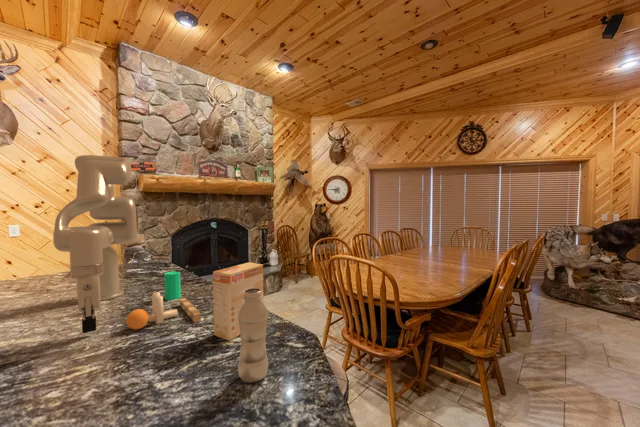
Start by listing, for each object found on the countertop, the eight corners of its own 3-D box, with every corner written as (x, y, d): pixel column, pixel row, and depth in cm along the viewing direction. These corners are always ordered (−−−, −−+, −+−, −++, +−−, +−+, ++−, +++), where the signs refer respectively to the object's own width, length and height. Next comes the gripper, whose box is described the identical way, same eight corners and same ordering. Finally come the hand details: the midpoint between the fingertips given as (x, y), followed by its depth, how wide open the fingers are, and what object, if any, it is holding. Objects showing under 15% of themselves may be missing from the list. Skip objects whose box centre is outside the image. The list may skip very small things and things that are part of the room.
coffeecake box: (249, 317, 97) (248, 261, 96) (264, 322, 93) (264, 264, 93) (212, 335, 84) (211, 270, 83) (229, 341, 81) (228, 274, 80)
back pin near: (154, 322, 94) (153, 297, 93) (162, 320, 95) (162, 295, 95) (155, 324, 92) (155, 298, 91) (164, 322, 93) (163, 297, 93)
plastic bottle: (241, 370, 66) (239, 286, 66) (270, 368, 67) (269, 285, 66) (235, 388, 60) (233, 295, 59) (267, 386, 61) (266, 294, 60)
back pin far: (152, 317, 98) (151, 293, 97) (160, 315, 99) (159, 291, 99) (153, 319, 96) (152, 295, 95) (161, 317, 97) (160, 293, 97)
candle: (174, 300, 115) (173, 271, 114) (161, 299, 116) (160, 270, 115) (183, 295, 121) (183, 267, 120) (171, 294, 122) (171, 267, 121)
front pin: (148, 314, 95) (176, 308, 100) (148, 320, 95) (176, 314, 100) (149, 316, 93) (177, 310, 98) (149, 323, 93) (177, 317, 98)
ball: (148, 316, 94) (126, 319, 91) (149, 304, 91) (127, 306, 88) (148, 331, 90) (125, 335, 86) (149, 318, 87) (126, 321, 84)
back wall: (179, 305, 109) (179, 299, 109) (185, 304, 110) (185, 297, 110) (194, 322, 93) (194, 314, 93) (200, 320, 95) (200, 313, 95)
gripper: (104, 273, 80) (106, 336, 81) (102, 264, 92) (104, 319, 92) (68, 277, 75) (71, 344, 76) (71, 267, 87) (74, 326, 87)
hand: (89, 330), depth 84 cm, fingers closed
